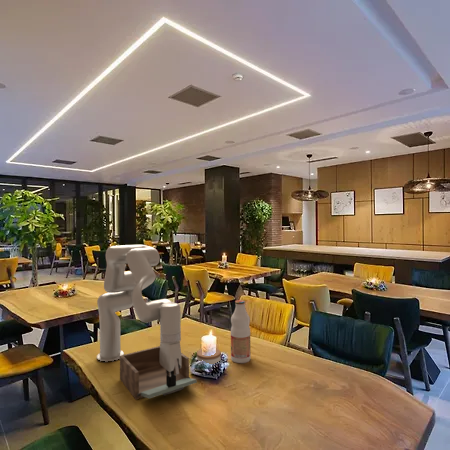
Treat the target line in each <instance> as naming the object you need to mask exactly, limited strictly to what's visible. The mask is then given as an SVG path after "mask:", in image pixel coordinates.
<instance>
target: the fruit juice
mask: <svg viewBox="0 0 450 450" xmlns="http://www.w3.org/2000/svg"><path fill="white" fill-rule="evenodd" d="M234 303H235V308H234V311H233V313H232V315H231V317H230V323H231V327H230V359H231V361H232V362H234V363H236V364H246V363H249V362H250V361H251V357H252V356H251V328H250V322H251V318H250V315H249V314H248V311H247V310H246V306H245V305H246V301H245V300H243V299H237V300H235V301H234Z"/></svg>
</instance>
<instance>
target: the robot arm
mask: <svg viewBox="0 0 450 450" xmlns="http://www.w3.org/2000/svg"><path fill="white" fill-rule="evenodd" d="M160 260H161V258H160V253H159V251H158V249H156V248H155V247H153V246H149V245H146V244H125V245H110V246H109V247H107V249H106V251H105V261H106V269H105V274H104V279H103V290H104V291H105V292H106V293H103V294H101V295H100V296H98V298H97V301H96V302H97V309H98V315H99V317H98V318H99V353H98V354H97V355H96V360H97V359H98V360H100V361H99V362H101V361H105V362H104V363H109V362H108V361H112V362H115V361H114V360H116V361H118V359H119V360H120V356H121V355H125V352H124V351H123V350H121V319H120V317H119V316H118V314H117V313H116V312H119V311H123V310H124V311H125V310H127V309H130V308H132V307H133V309H134V311H135V314H136V316H137V318H138V319H139V321H141V323H150V322H151V323H152V322H155V321H159V323H160V324H159V325H160V326H159V327H160V329H159V332H160V336H159V337H160V338H159V339H160V340H159V341H160V343H159V346H160V356H159V362H160V364H161V365H162V366H163V367H164V368H165V369H166V385H167V386H168V387H172V386H175V385H176V375H177V374H179V369H181V353H182V349H181V348H182V347H181V340H182V333H181V332H182V331H181V329H182V328H181V322H182V321H181V319H182V318H181V305H180V304H179V303H176V302H173V301H172V300H171V299H168V298H160V299H155V300H151V301H145V300H144V297H143V294H142V293H143V292H142V291H143V290H144V289H146V288H148V287H149V286H151V285H152V284H153V283H154V282H155V280H156V278H157V275H156V273H155V271H154V268H153V267H154V266H155V267H156V266H157V265H158V264H159V263H160ZM126 265H127V266H128V267H129V271H126ZM98 360H97V361H98Z"/></svg>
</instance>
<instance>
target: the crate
mask: <svg viewBox="0 0 450 450" xmlns="http://www.w3.org/2000/svg"><path fill="white" fill-rule="evenodd" d="M159 356H160V345H159V346H154V347H151V348H146V349H142V350H137V351H133V352H129V353H124V355H121V356H120V359H119V380H120V381H121V383H122V382H123V383H122V385H124V387H125V388H126V390H127V391H129V393H130V394H131V396H133V398H134V400H139V398H140V399H142V398H144V397H143V396H141V392H144V391H147V390H150V389H153V388H156V387H159V386H162V385H166V369H165V368H164V367H163V366H162V365H161V364H160V362H159ZM189 363H190V359H189V356H187V355H186V354H184V353H183V352H181V369H179V374H177V375H176V381H178V380H181V379H184V378H191V376H190V364H189Z"/></svg>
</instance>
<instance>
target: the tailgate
mask: <svg viewBox="0 0 450 450" xmlns="http://www.w3.org/2000/svg"><path fill="white" fill-rule="evenodd" d="M197 382H198V381H197V379H196V378H191V377H190V378H184V379H181V380H178V381H176V385H175V386H172V387H168V386H167V385H162V386H159V387H156V388H153V389H150V390H147V391H144V392H141V396H143V398H145V399H152V398H155V397H159V396H161V395H162V396H163V397H165V396H167V395H170V394H172V393H175V392H179V391H182V390H184V388H185V387H187V386H191V385H193V384H197Z"/></svg>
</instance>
